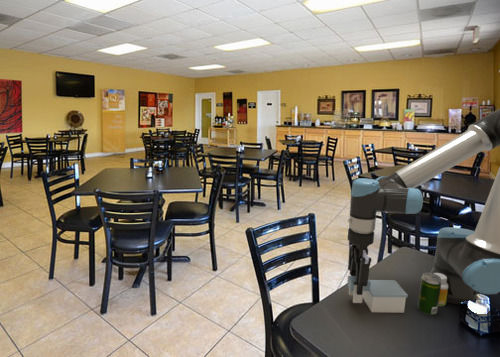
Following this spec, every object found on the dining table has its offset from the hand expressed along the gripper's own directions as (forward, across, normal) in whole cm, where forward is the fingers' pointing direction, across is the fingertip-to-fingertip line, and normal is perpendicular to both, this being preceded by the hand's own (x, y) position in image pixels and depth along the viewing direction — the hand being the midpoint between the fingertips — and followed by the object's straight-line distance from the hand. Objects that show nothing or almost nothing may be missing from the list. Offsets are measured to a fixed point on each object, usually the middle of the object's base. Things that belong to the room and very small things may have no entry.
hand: (355, 298), depth 100 cm
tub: (+3, 0, +9) cm, 9 cm away
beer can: (+3, +2, +22) cm, 22 cm away
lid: (-3, 0, +6) cm, 7 cm away
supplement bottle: (+3, -2, +28) cm, 28 cm away
